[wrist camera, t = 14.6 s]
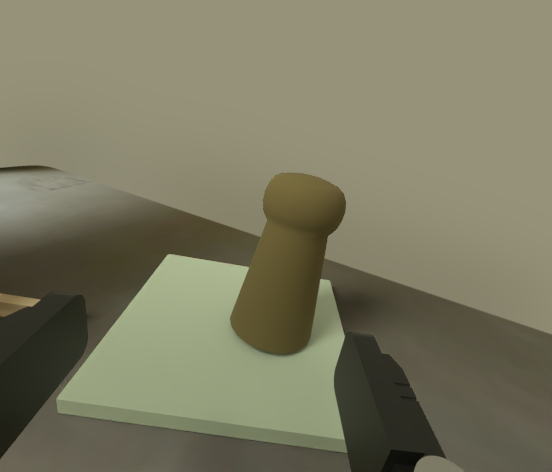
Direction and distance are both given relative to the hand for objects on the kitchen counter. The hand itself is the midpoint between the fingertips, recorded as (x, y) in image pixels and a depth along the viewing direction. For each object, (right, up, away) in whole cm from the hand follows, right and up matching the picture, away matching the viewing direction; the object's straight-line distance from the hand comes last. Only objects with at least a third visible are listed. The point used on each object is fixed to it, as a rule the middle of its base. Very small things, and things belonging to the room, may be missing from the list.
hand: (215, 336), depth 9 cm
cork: (+1, -4, +13) cm, 14 cm away
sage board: (-1, -4, +14) cm, 14 cm away
